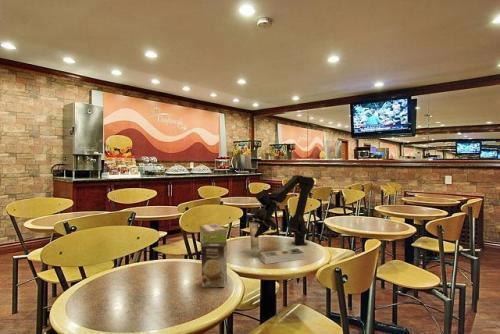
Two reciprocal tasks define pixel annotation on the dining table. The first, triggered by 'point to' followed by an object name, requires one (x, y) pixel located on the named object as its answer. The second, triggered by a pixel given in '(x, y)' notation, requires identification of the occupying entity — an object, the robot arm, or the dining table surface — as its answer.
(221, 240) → the tea box
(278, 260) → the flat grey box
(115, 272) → the dining table surface
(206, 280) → the coffee box
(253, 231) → the peg
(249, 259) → the dining table surface
